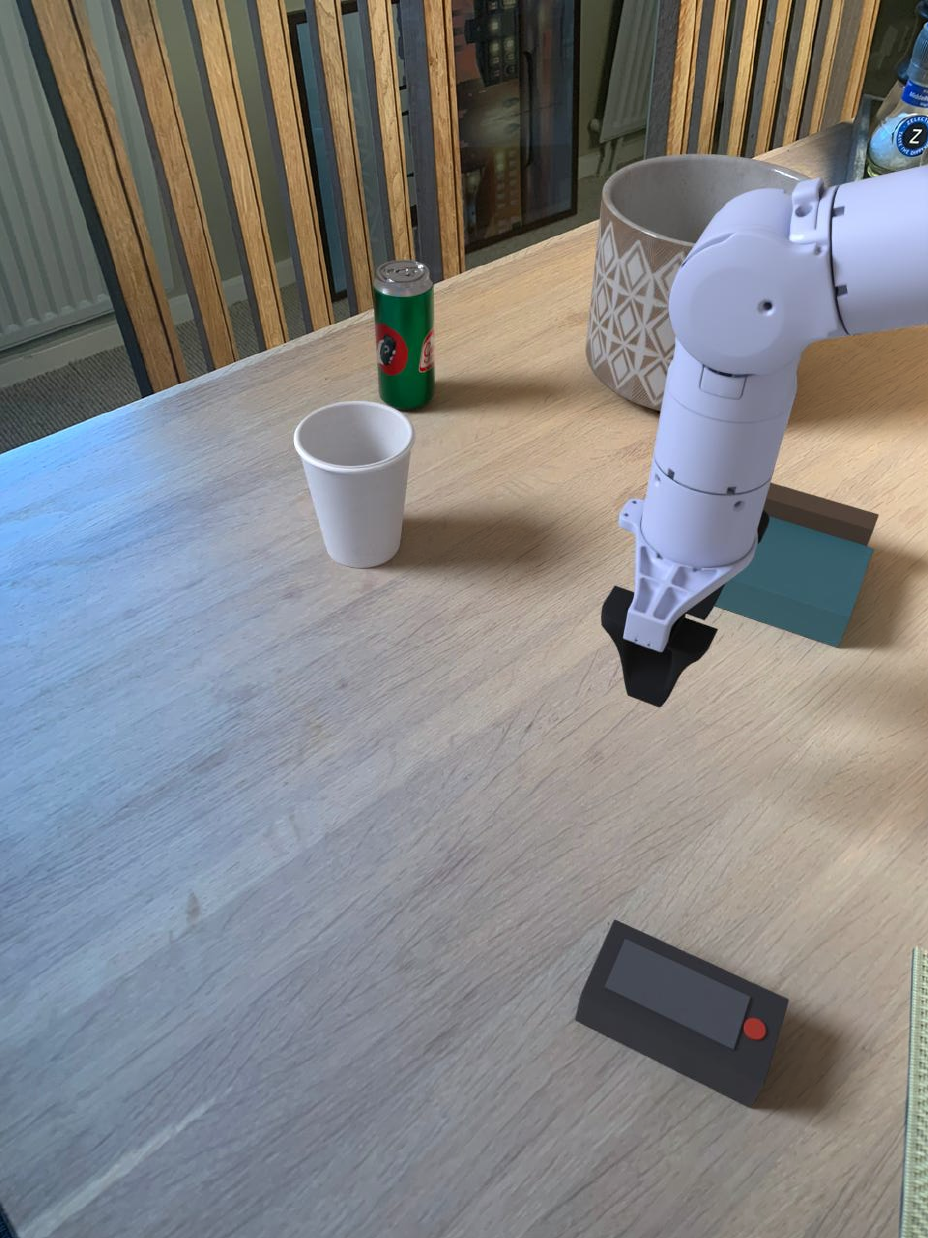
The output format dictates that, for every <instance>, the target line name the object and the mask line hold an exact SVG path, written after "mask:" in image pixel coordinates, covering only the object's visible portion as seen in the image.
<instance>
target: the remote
mask: <svg viewBox="0 0 928 1238" xmlns="http://www.w3.org/2000/svg"><path fill="white" fill-rule="evenodd" d="M789 1002H790V1000H789V998H787V997H785V996H783V995H781V994H779V993H776V992H774V991H772V990H770V989H768V988H766V987H764V986H762V985H759V984H756V983H754V982H752V981H750V980H748V979H746V978H743V977H741V976H739V975H737V974H735V973H733V972H731V971H728V970H726V969H724V968H722V967H720V966H717V965H716V964H713V963H711V962H709V961H707V960H704V959H702V958H700V957H698V956H695V955H694V954H692V953H689V952H687V951H685V950H683V949H681V948H678V947H676V946H674V945H672V944H671V943H670V944H669V943H667V942H665V941H663V940H660V938H657V937H655V936H652V935H650V934H648V933H645V932H644V931H641V930H639V929H637V928H635V927H632V926H631V925H628V924H626V923H625V922H622V921H619V920H617V919H613V921H612V923H611V925H610V927H609V930H608V932H607V934H606V936H605V939H604V941H603V943H602V945H601V947H600V949H599V952H598V954H597V956H596V959H595V960H594V963H593V966H592V967H591V970H590V972H589V974H588V976H587V979H586V981H585V983H584V985H583V988H582V990H581V992H580V997H579V999H578V1004H577V1009H576V1013H575V1017H574V1019H575V1022H577V1023H579V1024H581V1025H583V1026H585V1027H587V1028H589V1029H592V1030H593V1031H595V1032H598V1033H599V1034H601V1035H603V1036H605V1037H607V1038H608V1039H611V1040H613V1041H615V1042H617V1043H618V1044H621V1045H623V1046H625V1047H627V1048H629V1049H631V1050H633V1051H635V1052H637V1053H639V1054H641V1055H642V1056H645V1057H646V1058H649V1059H651V1060H654V1061H655V1062H657V1063H658V1064H661V1065H663V1066H665V1067H667V1068H669V1069H671V1070H673V1071H675V1072H677V1073H679V1074H681V1075H683V1076H685V1077H687V1078H689V1079H691V1080H693V1081H695V1082H697V1083H699V1084H701V1085H703V1086H705V1087H707V1088H709V1089H711V1090H713V1091H715V1092H717V1093H719V1094H721V1095H723V1096H725V1097H727V1098H729V1099H731V1100H733V1101H735V1102H737V1103H739V1104H741V1105H743V1106H745V1107H747V1108H751V1107H753V1104H754V1103H755V1101H756V1099H757V1097H759V1094H760V1093H761V1091H762V1090H763V1088H764V1086H765V1084H766V1081H767V1077H768V1074H769V1072H770V1071H769V1070H770V1068H771V1065H772V1064H771V1063H772V1060H773V1057H774V1053H775V1050H776V1047H777V1044H778V1041H779V1036H780V1032H781V1030H782V1026H783V1022H784V1019H785V1015H786V1012H787V1009H788V1005H789Z"/></svg>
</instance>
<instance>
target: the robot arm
mask: <svg viewBox="0 0 928 1238" xmlns="http://www.w3.org/2000/svg"><path fill="white" fill-rule="evenodd" d="M825 185H826V184H825V180H824V179H823V177H819V176H818V177H815V178H812V179H810V180H806V181H802V182H799V183H798V184H797V185H796V187H795V189H794V191H793V193H792V195H789V194H785V192H786V190H785V189H779V188H764V189H756V190H753V191H749V192H746V193H743V194H741V195H739V196H737V197H735V198H733V199H732V200H731V201H729V202H728V203H726V205H725V206H724V207H723V208H722V209H721V210H720V211H718V212H717V213H716V214H715V216H714V217H713V219H712V220H711V222H710V223H709V225H708V226H707V227H706V229H705V230H704V232H703V233H702V235H701V236H700V238H699V239H698V241H697V242H696V244H695V245H694V247H693V248H692V250H691V251H690V253H689V254H688V256H687V257H686V259H685V260H684V261H683V263H682V264H681V266H680V268H679V270H678V272H677V275H676V277H675V280H674V282H673V285H672V288H671V292H670V297H669V316H670V321H671V325H672V328H673V330H674V333H675V335H676V338H675V351H674V357H673V360H672V361H671V363H670V366H669V368H668V372H667V378H666V384H665V390H664V396H663V401H662V407H661V411H660V413H659V419H658V424H657V430H656V436H655V442H654V448H653V453H652V459H651V464H650V471H649V475H648V481H647V486H646V487H647V488H646V493H645V499H642V498H638V497H633V498H630V499H628V500H627V501H626V503H625V504H624V506H623V507H622V509H621V510H620V511H619V514H618V522H617V525H618V526H619V528H621V529H622V530H625V531H627V532H630V533H632V534H633V535H634V539H635V540H634V585H633V586H634V588H633V589H634V590H633V591H632V590H629V589H627V588H625V587H624V588H623V587H621V586H618V585H613V587H612V588H611V591H610V592H609V594H608V595H607V597H606V599H605V600H604V602H603V604H602V607H601V613H600V623H601V624H600V625H601V627H602V628H603V630H604V631H605V632H606V633H607V634H608V637H610V639H611V640H612V642H613V644H614V646H615V647H616V650H617V652H618V656H619V658H620V660H619V661H620V665H621V669H622V676H623V682H624V687H625V692H626V695H627V696H628V697H630V698H633V699H635V700H638V701H641V702H643V703H646V704H648V705H651V706H654V707H656V708H662V707H663V706H664V705H665V703H666V702H667V701H668V699H669V697H670V696H671V694H672V693H673V690H674V688H675V686H676V684H677V682H678V680H679V679H680V676H681V675H682V674H683V672H684V671H685V670H686V669H688V667H690V666H691V665H693V664H694V663H696V662H698V661H700V660H701V659H702V658H703V657H704V655H705V654H706V653H707V652H708V651H709V649H710V647H711V645H712V643H713V641H714V640H715V637H716V635H717V633H718V631H719V628H717V627H713V626H710V625H709V624H705V623H703V622H700V621H697V620H693V619H691V618H688V617H686V616H687V615H688V616H691V617H694V618H696V619H700V620H701V621H702V620H703V621H706V619H707V618H708V617H709V615H710V614H711V612H712V611H713V609H714V607H716V606H715V604H716V602H717V600H718V598H719V596H720V594H721V592H722V590H723V588H724V586H725V584H726V582H727V581H729V580H730V579H731V578H733V577H734V576H735V575H737V574H738V573H740V572H741V571H742V570H743V569H745V568H746V567H747V566H748V565H749V563H750V562H751V561H752V559H753V557H754V554H755V550H756V547H757V544H759V543H760V542H761V540H762V538H763V535H764V533H765V531H766V529H767V527H768V524H769V520H770V518H769V515H768V514H767V513H766V512H765V511H764V510H763V507H764V504H765V500H766V497H767V493H768V490H769V487H770V483H772V479H773V476H774V473H775V468H776V465H777V461H778V457H779V455H780V450H781V447H782V444H783V441H784V437H785V433H786V430H787V427H788V422H789V419H790V416H791V413H792V408H793V405H794V402H795V398H796V395H797V390H798V374H797V375H796V371H797V366H798V363H799V359H800V356H801V353H802V352H803V353H804V351H805V349H806V348H807V347H810V345H811V344H813V343H816V342H820V341H825V340H829V339H839V338H844V337H851V336H852V337H853V336H859V335H864V334H865V335H866V334H872V333H879V332H885V331H892V330H898V329H900V330H901V329H905V328H906V329H907V328H911V327H919V326H926V325H928V164H926V165H920V166H915V167H912V168H911V167H910V168H907V169H903V170H897V171H894V172H890V173H885V174H882V175H877V176H871V177H868V178H867V177H866V178H863V179H859V180H854V181H850V182H846V183H842V184H837V185H832V186H827V187H826V188H825ZM803 350H804V351H803Z"/></svg>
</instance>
